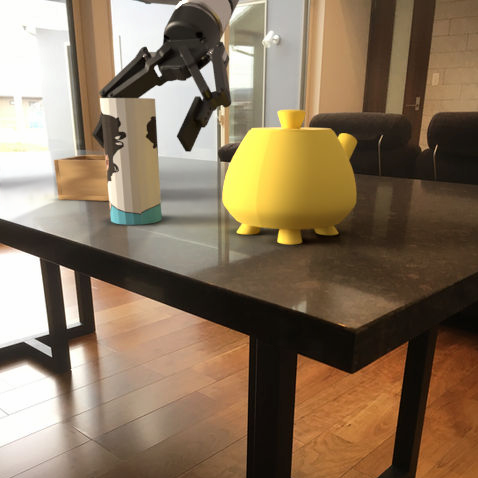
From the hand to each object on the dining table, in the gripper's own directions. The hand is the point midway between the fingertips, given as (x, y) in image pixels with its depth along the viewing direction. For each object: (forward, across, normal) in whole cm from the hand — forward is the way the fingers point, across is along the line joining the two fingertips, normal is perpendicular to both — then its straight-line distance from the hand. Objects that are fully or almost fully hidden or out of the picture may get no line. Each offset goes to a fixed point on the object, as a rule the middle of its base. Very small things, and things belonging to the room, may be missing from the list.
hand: (139, 143), depth 67 cm
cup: (+8, 0, -6) cm, 10 cm away
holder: (-2, +19, -16) cm, 25 cm away
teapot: (+5, -22, -9) cm, 24 cm away
